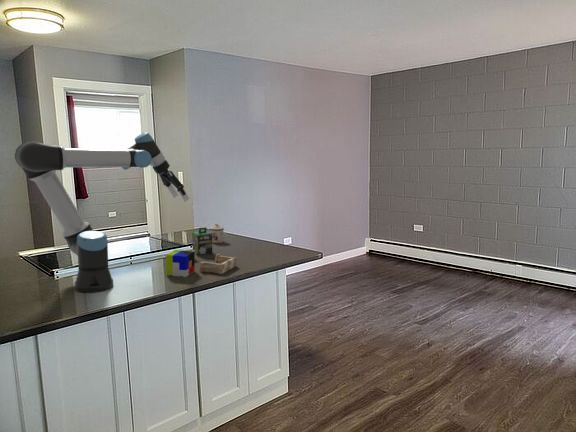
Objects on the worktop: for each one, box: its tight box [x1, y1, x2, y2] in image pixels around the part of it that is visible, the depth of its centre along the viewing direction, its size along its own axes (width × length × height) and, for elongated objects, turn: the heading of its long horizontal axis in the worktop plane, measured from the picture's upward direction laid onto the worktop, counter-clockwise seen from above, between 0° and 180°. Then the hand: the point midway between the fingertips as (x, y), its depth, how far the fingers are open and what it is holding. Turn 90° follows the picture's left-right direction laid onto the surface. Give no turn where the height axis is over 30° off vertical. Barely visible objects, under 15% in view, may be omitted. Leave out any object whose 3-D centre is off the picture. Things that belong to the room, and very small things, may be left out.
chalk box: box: [191, 226, 213, 255], centre depth 247 cm, size 9×9×15 cm
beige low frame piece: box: [191, 249, 237, 275], centre depth 220 cm, size 18×27×5 cm
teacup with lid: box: [209, 223, 227, 244], centre depth 274 cm, size 12×9×12 cm
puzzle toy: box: [165, 249, 196, 278], centre depth 208 cm, size 10×10×10 cm
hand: (181, 198), depth 218 cm, fingers open, 13 cm apart
